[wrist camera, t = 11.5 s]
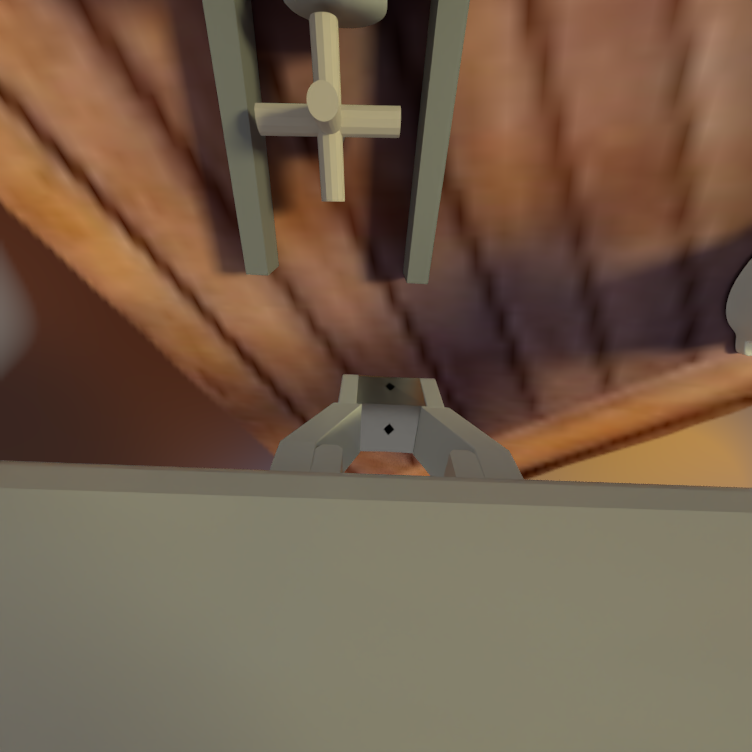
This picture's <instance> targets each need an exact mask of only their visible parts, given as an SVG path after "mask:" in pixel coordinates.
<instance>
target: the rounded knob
mask: <svg viewBox="0 0 752 752" xmlns="http://www.w3.org/2000/svg"><path fill="white" fill-rule="evenodd" d="M283 1H284V2H285V4H286V5H287V6H288V7H289V8H290V9H291V10H292V11H293V12H295V13H296V14H298V15H299V16H301V17H303V18H305V19H307V20H309V17H310V15H311V14H312V13H314V12H328V13H331V14H333V15H335V16H336V17H337V19H338V28H360V27H366V26H370V25H373V24H375V23H377V22H379V21H380V20H382V19H383V18H384V16H385V15H386V12H387V0H283Z"/></svg>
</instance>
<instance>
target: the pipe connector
mask: <svg viewBox="0 0 752 752" xmlns="http://www.w3.org/2000/svg"><path fill="white" fill-rule="evenodd" d="M309 26H310V40H311V55H312V69H313V84H312V85H311V86H310V88H309V89H308V93H307V104H296V103H255V106H254V111H255V119H256V124H257V128H258V131H259V133H260V135H261V136H310V137H317V140H318V154H319V168H320V182H321V196H322V201H345V191H344V165H343V142H344V139H345V137H369V138H399V136H400V127H401V106H387V105H341V86H340V60H339V34H338V19H337V17H336V16H335V15H333V14H331V13H328V12H314V13H312V14H311V15H310V17H309Z"/></svg>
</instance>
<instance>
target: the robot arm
mask: <svg viewBox="0 0 752 752" xmlns="http://www.w3.org/2000/svg"><path fill="white" fill-rule="evenodd" d="M726 317H727V321H728V323H729V325H730V326H731V328H732V329H733V331H734V332H735V334H736V344H735V348H736V351H737V352H738V353H740V354H743V355H746V356H752V259H751V260H750V261H749V262H748V264H747V265H746V266H745V267H744V269H743V270H742V272H741V273H740V275H739V276H738V278H737V279H736V281H735V283H734V285H733V287H732V289H731V291H730V294H729V297H728V300H727V305H726ZM360 451H389V452H404V453H413V455H414V456H415V457H416V458H417V460H418V461H419V462H420V463H421V465H422V466H423V467H424V468H425V469H426V471H427V472H428V473H429V474H430V476H411V475H384V474H356V473H344V471H345V470H346V469H347V468H348V466H349V465H350V464H351V463H352V461H353V460H354V459H355V458H356V456H357V455H358V454H359V453H360ZM0 752H752V488H742V487H741V488H740V487H713V486H687V485H686V486H685V485H659V484H631V483H604V482H576V481H575V482H574V481H549V480H524V479H523V477H522V475H521V473H520V471H519V469H518V467H517V465H516V463H515V461H514V459H513V457H512V456H511V454H510V452H509V450H507V449H506V448H504V447H503V446H502V445H500V444H499V443H497V442H496V441H495V440H493V439H492V438H490V437H489V436H488V435H486V434H485V433H483V432H482V431H481V430H479V429H478V428H477V427H475V426H474V425H472V424H471V423H470V422H468V421H467V420H465V419H464V418H463V417H461V416H460V415H458V414H457V413H456V412H454V411H453V410H451V409H450V408H446V407H444V404H443V401H442V398H441V395H440V392H439V389H438V386H437V383H436V380H435V379H434V378H397V377H383V376H368V375H354V374H343V376H342V382H341V388H340V394H339V400H338V403H332V404H331V405H329V406H328V407H327V408H325V409H324V410H323V411H321V412H320V413H319V414H317V415H316V416H314V417H313V418H312V419H310V420H309V421H308V422H306V423H305V424H303V425H302V426H301V427H299V428H298V429H297V430H295V431H294V432H292V433H291V434H290V435H288V436H287V437H286V438H284V439H283V440H281V441H280V443H279V446H278V449H277V451H276V454H275V457H274V459H273V462H272V465H271V468H270V470H247V469H219V468H191V467H165V466H138V465H111V464H83V463H55V462H28V461H1V460H0Z"/></svg>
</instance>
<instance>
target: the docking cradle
mask: <svg viewBox="0 0 752 752" xmlns="http://www.w3.org/2000/svg"><path fill="white" fill-rule="evenodd" d="M202 2H203V8H204V15H205V21H206V27H207V33H208V40H209V46H210V52H211V58H212V64H213V71H214V77H215V83H216V89H217V95H218V102H219V108H220V114H221V120H222V127H223V133H224V139H225V145H226V151H227V158H228V164H229V170H230V176H231V182H232V189H233V195H234V201H235V207H236V213H237V220H238V226H239V232H240V238H241V245H242V251H243V257H244V263H245V269H246V274H252V275H269V274H270V273H271V272H272V271H274V270H275V269H276V268H277V267H278V266H279V263H278V253H277V243H276V234H275V224H274V215H273V205H272V196H271V186H270V176H269V167H268V157H267V148H266V138H265V136H261V135H260V133H259V131H258V128H257V124H256V119H255V111H254V106H255V103H262V100H261V90H260V81H259V71H258V62H257V52H256V42H255V33H254V23H253V14H252V4H251V0H202ZM469 2H470V0H431V6H430V15H429V25H428V35H427V44H426V54H425V64H424V73H423V83H422V93H421V102H420V112H419V122H418V131H417V141H416V151H415V160H414V170H413V180H412V189H411V199H410V209H409V218H408V228H407V238H406V247H405V257H404V267H403V274H404V277H405V279H406V282H407V283H417V284H428V279H429V272H430V265H431V259H432V252H433V245H434V238H435V231H436V225H437V218H438V211H439V204H440V198H441V191H442V184H443V177H444V171H445V164H446V157H447V150H448V144H449V137H450V130H451V123H452V117H453V110H454V103H455V96H456V90H457V83H458V76H459V69H460V63H461V56H462V49H463V42H464V36H465V29H466V22H467V15H468V9H469Z"/></svg>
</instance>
